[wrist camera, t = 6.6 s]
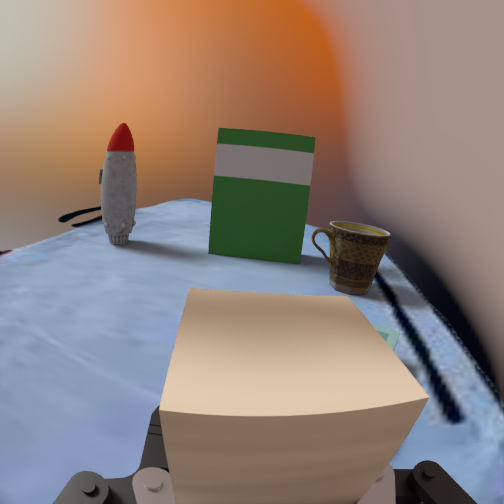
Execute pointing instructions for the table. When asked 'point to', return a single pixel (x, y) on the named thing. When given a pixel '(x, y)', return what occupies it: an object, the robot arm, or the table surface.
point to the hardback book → (260, 194)
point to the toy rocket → (119, 186)
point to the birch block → (281, 400)
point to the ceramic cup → (353, 255)
